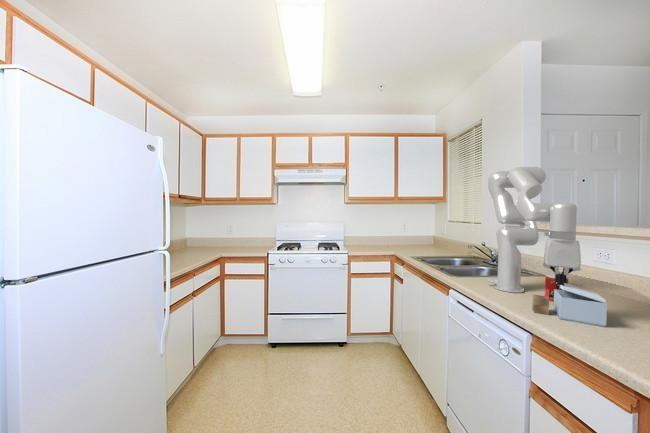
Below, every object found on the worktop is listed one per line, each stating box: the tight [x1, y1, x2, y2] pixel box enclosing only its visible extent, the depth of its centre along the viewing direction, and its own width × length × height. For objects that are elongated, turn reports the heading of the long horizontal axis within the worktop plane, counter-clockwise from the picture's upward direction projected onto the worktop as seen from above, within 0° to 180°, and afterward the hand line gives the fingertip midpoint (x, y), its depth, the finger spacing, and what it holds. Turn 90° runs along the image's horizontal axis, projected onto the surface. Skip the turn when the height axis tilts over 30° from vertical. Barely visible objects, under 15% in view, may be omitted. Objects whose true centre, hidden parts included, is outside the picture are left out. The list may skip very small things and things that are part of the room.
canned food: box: [544, 272, 569, 303], centre depth 120 cm, size 8×8×11 cm
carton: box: [553, 289, 608, 328], centre depth 100 cm, size 12×12×8 cm
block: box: [531, 294, 550, 316], centre depth 105 cm, size 4×4×6 cm
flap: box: [556, 282, 607, 303], centre depth 100 cm, size 12×11×1 cm
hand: (560, 284), depth 102 cm, fingers closed
